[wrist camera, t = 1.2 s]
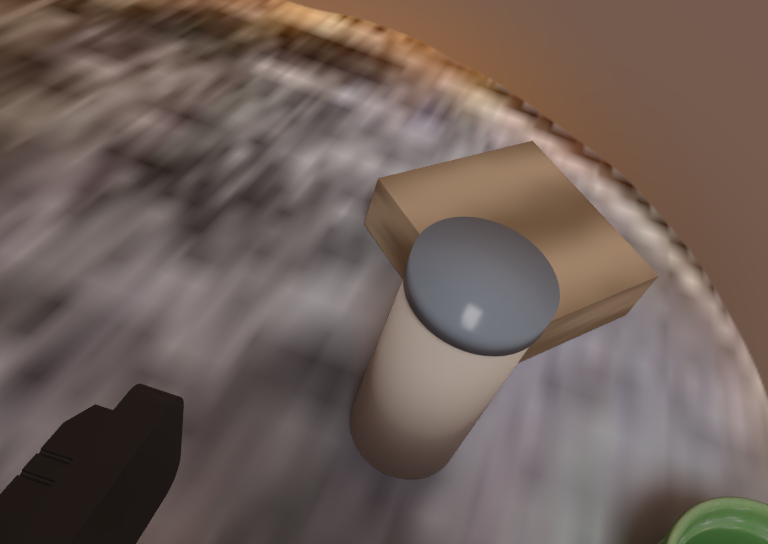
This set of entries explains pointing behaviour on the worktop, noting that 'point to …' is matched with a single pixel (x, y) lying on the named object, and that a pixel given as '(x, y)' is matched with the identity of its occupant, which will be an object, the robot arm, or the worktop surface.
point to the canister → (450, 342)
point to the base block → (520, 229)
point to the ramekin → (721, 523)
